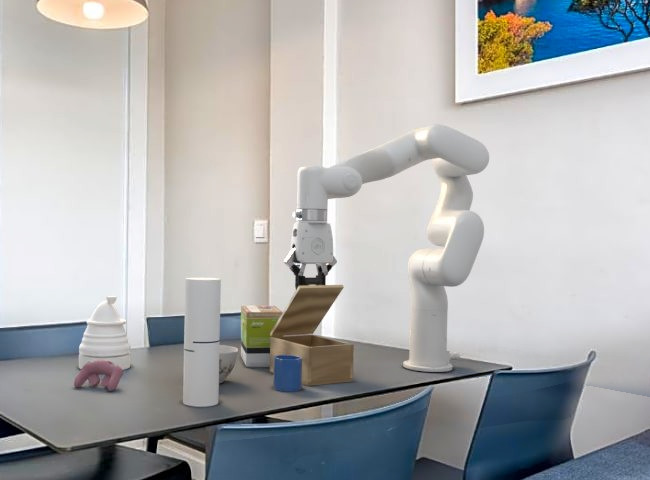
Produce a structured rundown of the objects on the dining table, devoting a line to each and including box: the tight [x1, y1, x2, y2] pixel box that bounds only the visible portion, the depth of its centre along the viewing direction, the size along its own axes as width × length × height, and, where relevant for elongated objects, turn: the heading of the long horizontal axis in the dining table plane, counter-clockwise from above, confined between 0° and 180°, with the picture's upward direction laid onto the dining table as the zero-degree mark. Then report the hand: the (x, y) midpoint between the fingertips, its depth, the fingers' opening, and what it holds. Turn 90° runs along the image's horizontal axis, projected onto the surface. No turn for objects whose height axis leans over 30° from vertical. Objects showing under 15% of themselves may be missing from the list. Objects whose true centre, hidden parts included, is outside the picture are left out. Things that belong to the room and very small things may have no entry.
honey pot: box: [78, 295, 131, 371], centre depth 172 cm, size 13×13×18 cm
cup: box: [272, 355, 303, 393], centre depth 151 cm, size 6×6×7 cm
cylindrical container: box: [182, 277, 222, 408], centre depth 136 cm, size 7×7×25 cm
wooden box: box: [269, 334, 355, 387], centre depth 164 cm, size 18×13×9 cm
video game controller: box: [73, 360, 124, 392], centre depth 148 cm, size 10×5×7 cm, turn 71°
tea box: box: [240, 304, 283, 368], centre depth 182 cm, size 15×10×15 cm, turn 6°
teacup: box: [219, 344, 239, 384], centre depth 157 cm, size 15×12×8 cm
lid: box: [270, 276, 345, 336], centre depth 167 cm, size 18×13×5 cm
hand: (310, 291), depth 165 cm, fingers closed on lid, 5 cm apart
